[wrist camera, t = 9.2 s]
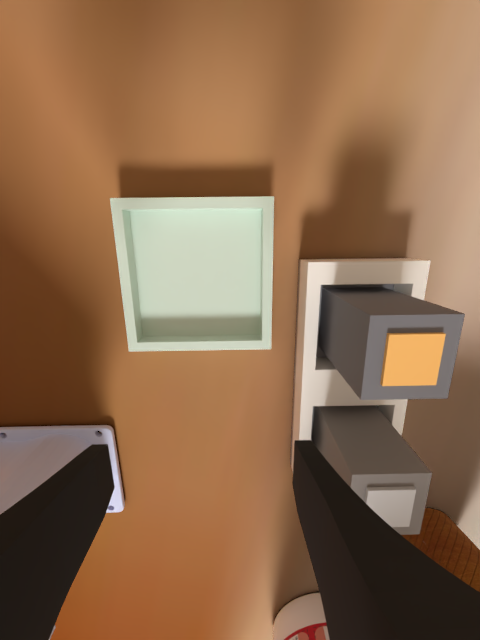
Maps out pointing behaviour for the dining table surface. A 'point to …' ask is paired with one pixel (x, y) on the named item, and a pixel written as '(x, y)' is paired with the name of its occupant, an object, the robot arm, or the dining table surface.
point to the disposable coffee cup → (448, 547)
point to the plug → (389, 342)
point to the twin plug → (374, 463)
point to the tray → (195, 271)
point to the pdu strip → (310, 361)
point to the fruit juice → (301, 620)
